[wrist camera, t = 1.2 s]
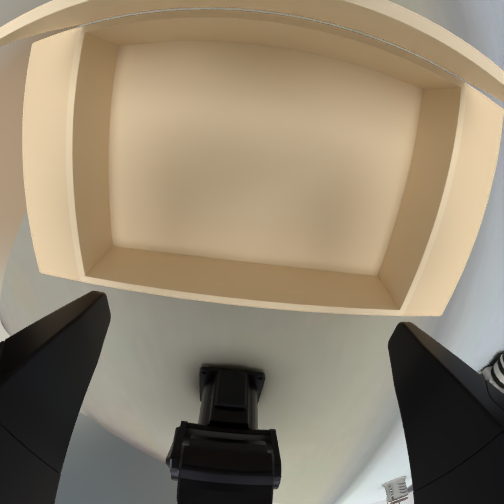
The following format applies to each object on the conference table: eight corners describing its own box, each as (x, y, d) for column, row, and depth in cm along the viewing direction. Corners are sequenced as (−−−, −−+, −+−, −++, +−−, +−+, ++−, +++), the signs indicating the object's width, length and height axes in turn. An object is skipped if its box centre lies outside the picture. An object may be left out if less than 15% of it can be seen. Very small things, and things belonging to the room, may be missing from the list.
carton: (414, 281, 22) (440, 316, 17) (72, 243, 20) (39, 272, 16) (461, 105, 14) (504, 109, 10) (73, 51, 13) (32, 43, 8)
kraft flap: (566, 150, 4) (569, 142, 4) (-37, 62, 3) (-37, 53, 3) (468, 82, 9) (469, 76, 9) (79, 25, 8) (79, 18, 8)
